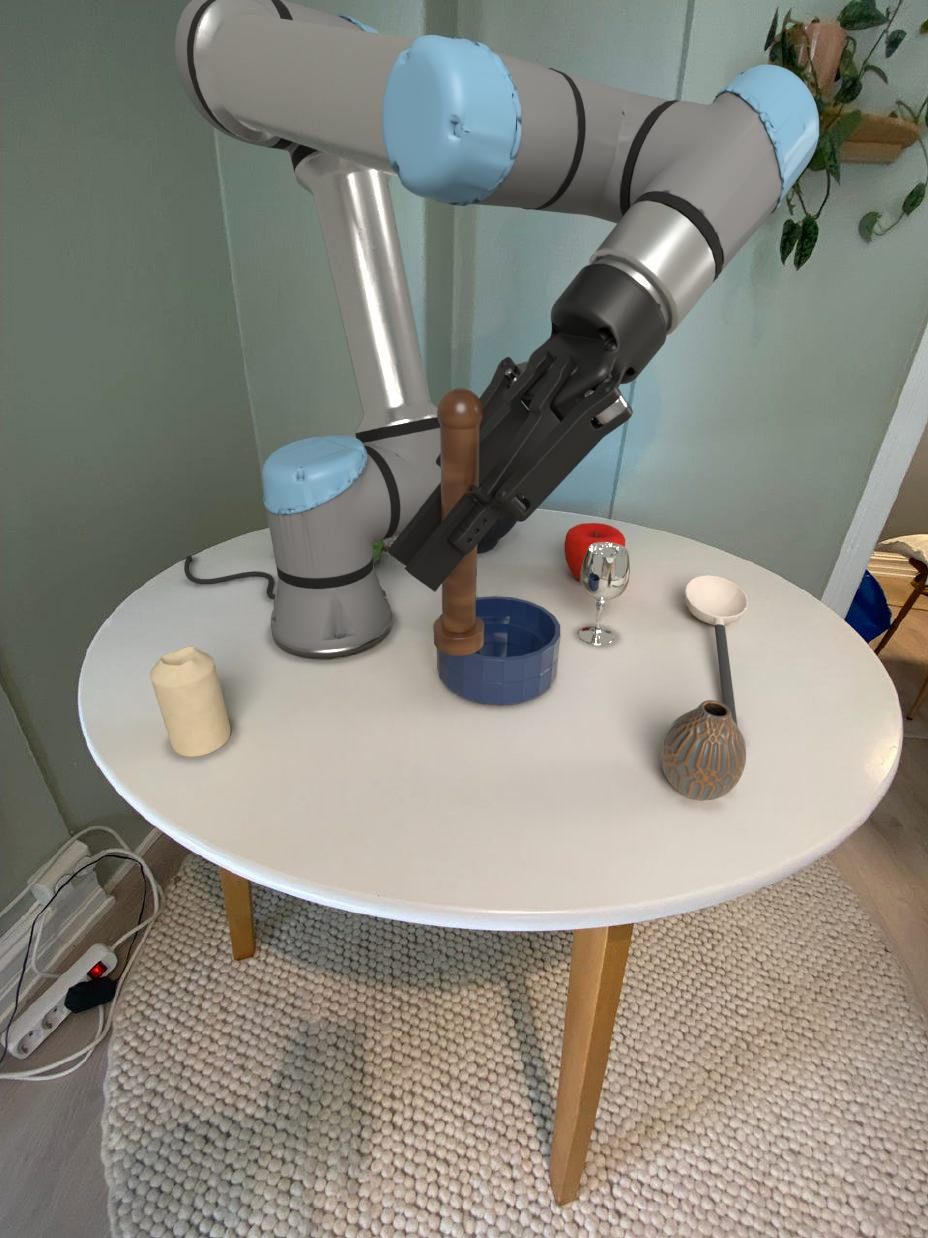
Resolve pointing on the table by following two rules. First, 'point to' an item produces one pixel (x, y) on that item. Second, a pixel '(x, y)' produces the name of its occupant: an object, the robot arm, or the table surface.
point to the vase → (704, 752)
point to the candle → (191, 701)
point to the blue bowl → (506, 654)
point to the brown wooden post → (458, 471)
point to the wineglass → (603, 583)
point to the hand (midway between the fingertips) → (410, 570)
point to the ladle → (718, 620)
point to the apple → (587, 542)
